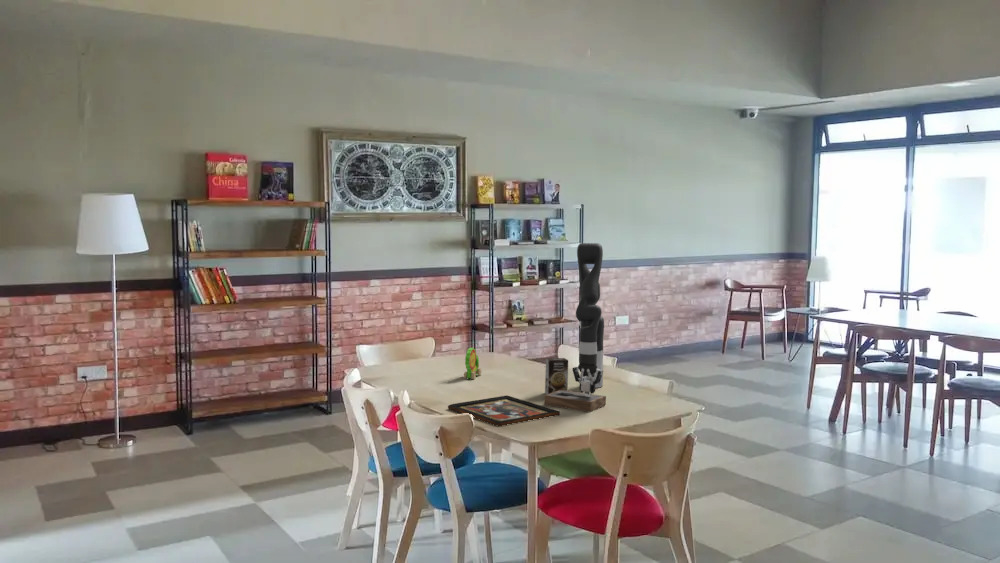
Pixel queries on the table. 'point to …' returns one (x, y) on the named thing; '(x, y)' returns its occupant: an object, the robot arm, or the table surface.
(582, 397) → the keyhole box
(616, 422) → the table surface
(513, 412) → the framed painting
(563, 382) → the coffee box
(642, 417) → the table surface
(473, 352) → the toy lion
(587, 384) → the keyhole stud
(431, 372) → the table surface
